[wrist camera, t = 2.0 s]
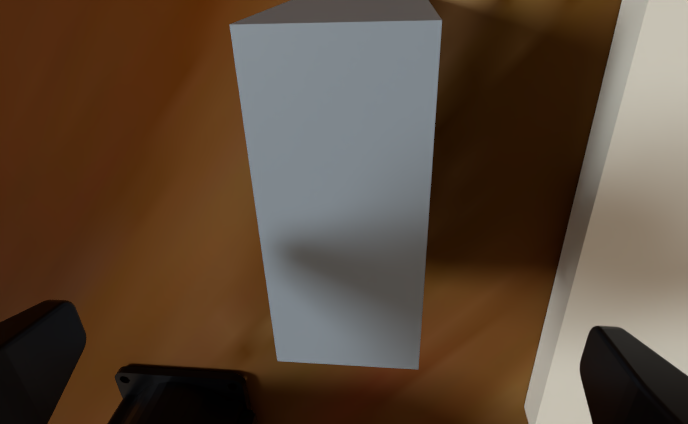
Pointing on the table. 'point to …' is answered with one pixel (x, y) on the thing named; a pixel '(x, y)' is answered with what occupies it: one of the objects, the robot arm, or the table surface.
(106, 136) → the table surface
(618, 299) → the base
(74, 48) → the table surface
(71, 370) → the robot arm
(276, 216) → the block
